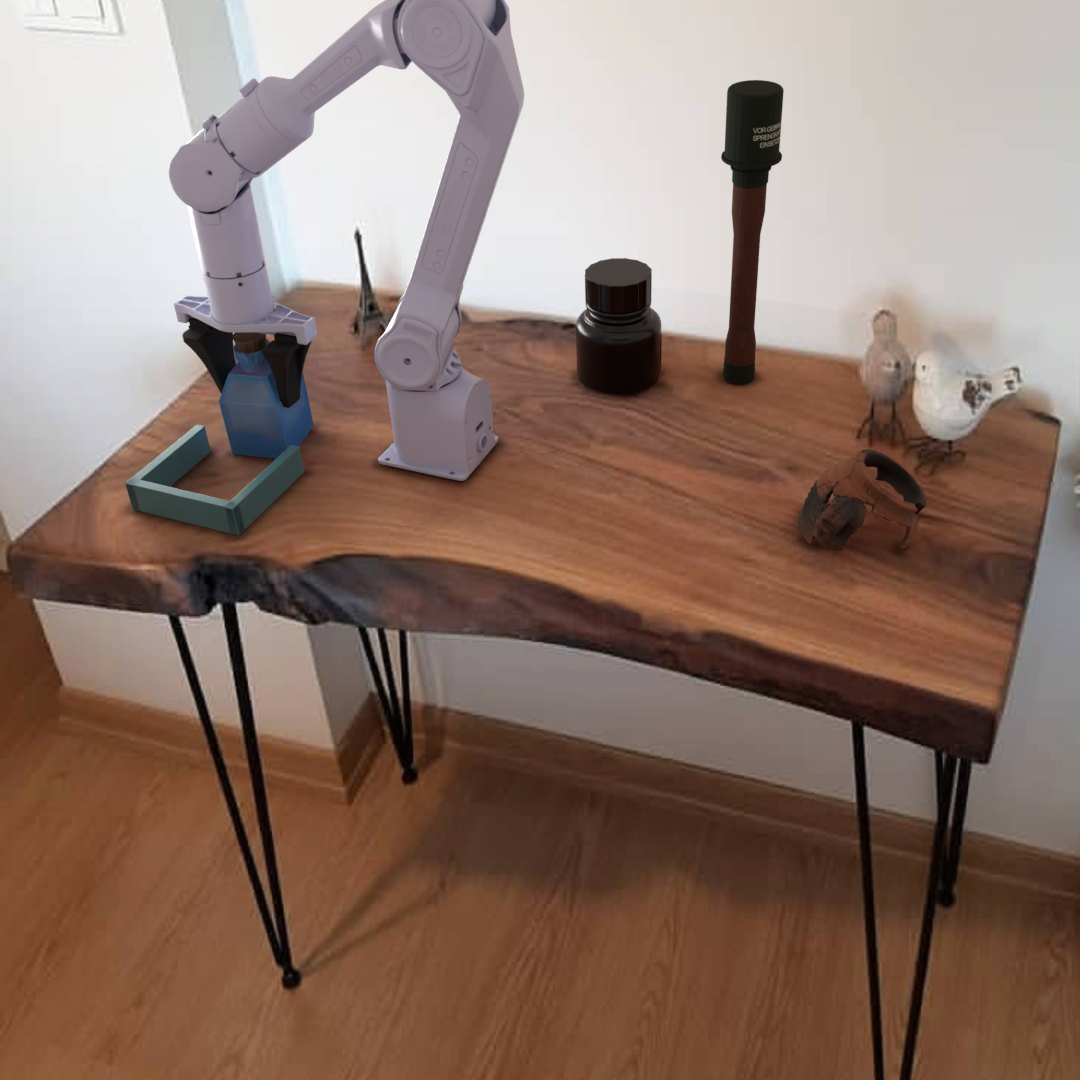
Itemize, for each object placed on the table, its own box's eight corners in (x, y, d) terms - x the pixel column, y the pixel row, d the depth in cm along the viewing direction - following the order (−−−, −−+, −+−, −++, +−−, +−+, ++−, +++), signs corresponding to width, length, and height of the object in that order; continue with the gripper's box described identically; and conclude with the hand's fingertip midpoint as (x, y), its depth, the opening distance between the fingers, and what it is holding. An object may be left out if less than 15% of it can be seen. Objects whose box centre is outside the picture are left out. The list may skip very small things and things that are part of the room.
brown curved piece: (810, 494, 113) (866, 428, 108) (890, 563, 111) (950, 499, 106) (761, 533, 103) (820, 463, 98) (847, 610, 101) (911, 542, 96)
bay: (304, 472, 119) (299, 446, 117) (239, 536, 111) (232, 509, 109) (203, 449, 123) (196, 424, 121) (132, 509, 115) (124, 483, 113)
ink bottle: (678, 368, 132) (681, 264, 124) (639, 406, 126) (640, 298, 119) (599, 349, 136) (598, 247, 129) (558, 384, 130) (554, 279, 123)
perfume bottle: (313, 425, 125) (292, 320, 117) (290, 459, 120) (266, 353, 113) (258, 419, 126) (233, 316, 119) (232, 454, 122) (204, 348, 114)
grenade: (729, 395, 127) (745, 100, 109) (701, 372, 131) (712, 84, 113) (776, 382, 128) (799, 90, 110) (747, 359, 133) (765, 74, 115)
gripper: (325, 258, 112) (346, 389, 120) (195, 239, 117) (223, 365, 125) (282, 290, 107) (306, 424, 115) (148, 269, 112) (181, 398, 120)
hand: (260, 396), depth 119 cm, fingers closed on perfume bottle, 7 cm apart
